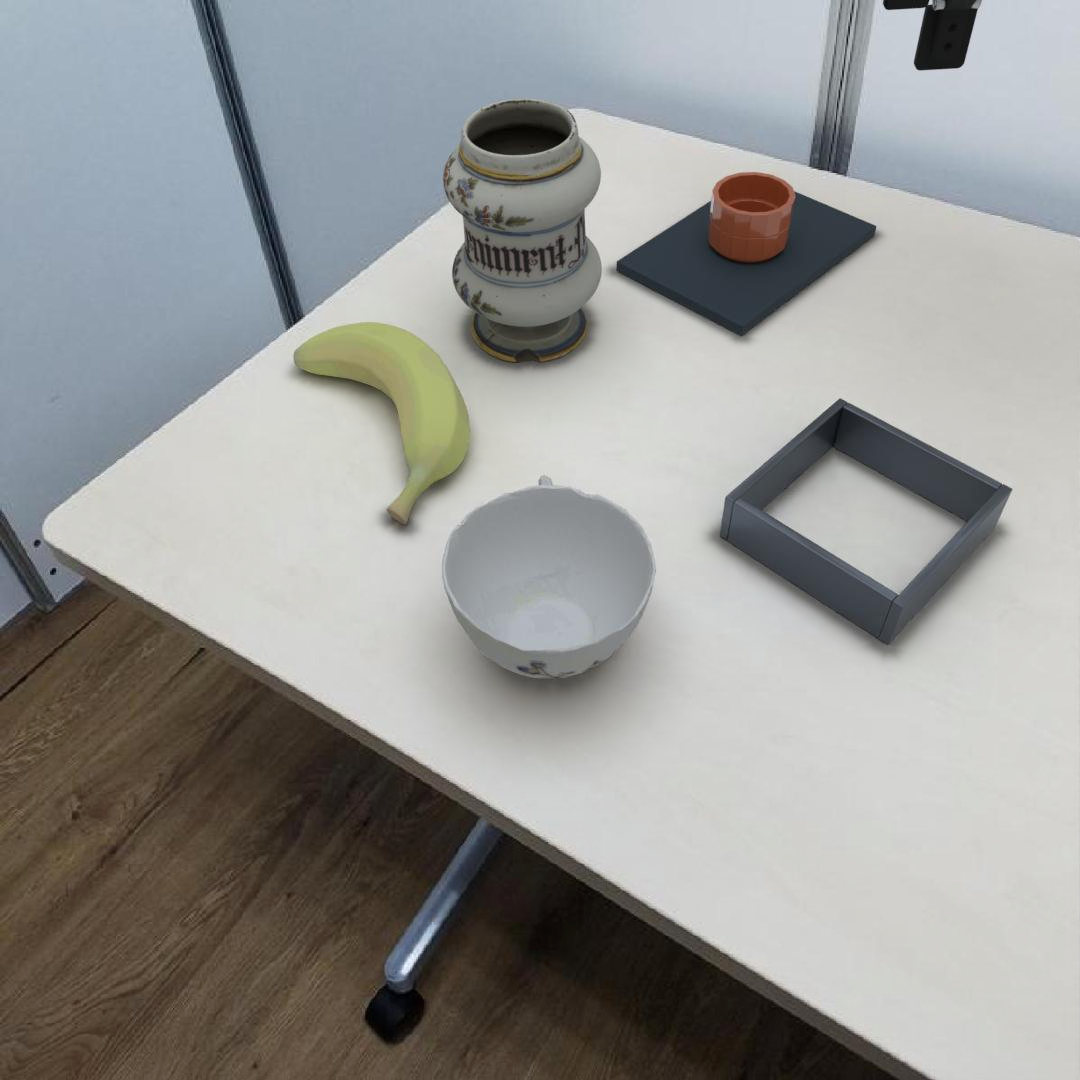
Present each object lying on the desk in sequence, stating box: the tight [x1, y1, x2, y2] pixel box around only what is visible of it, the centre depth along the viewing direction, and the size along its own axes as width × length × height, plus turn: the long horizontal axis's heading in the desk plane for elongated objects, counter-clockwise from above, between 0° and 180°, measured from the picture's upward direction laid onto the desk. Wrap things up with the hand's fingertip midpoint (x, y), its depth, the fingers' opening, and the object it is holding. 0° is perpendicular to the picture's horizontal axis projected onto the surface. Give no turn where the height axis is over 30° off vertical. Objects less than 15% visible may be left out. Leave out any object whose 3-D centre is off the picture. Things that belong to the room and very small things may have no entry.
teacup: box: [441, 474, 657, 680], centre depth 63 cm, size 15×12×8 cm
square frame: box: [719, 397, 1013, 646], centre depth 68 cm, size 13×13×4 cm
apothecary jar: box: [442, 97, 603, 363], centre depth 79 cm, size 12×12×18 cm
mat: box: [615, 190, 877, 337], centre depth 92 cm, size 20×14×1 cm
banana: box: [293, 321, 471, 525], centre depth 77 cm, size 14×6×20 cm
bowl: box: [708, 171, 795, 263], centre depth 90 cm, size 7×7×5 cm
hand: (920, 36), depth 71 cm, fingers open, 9 cm apart
